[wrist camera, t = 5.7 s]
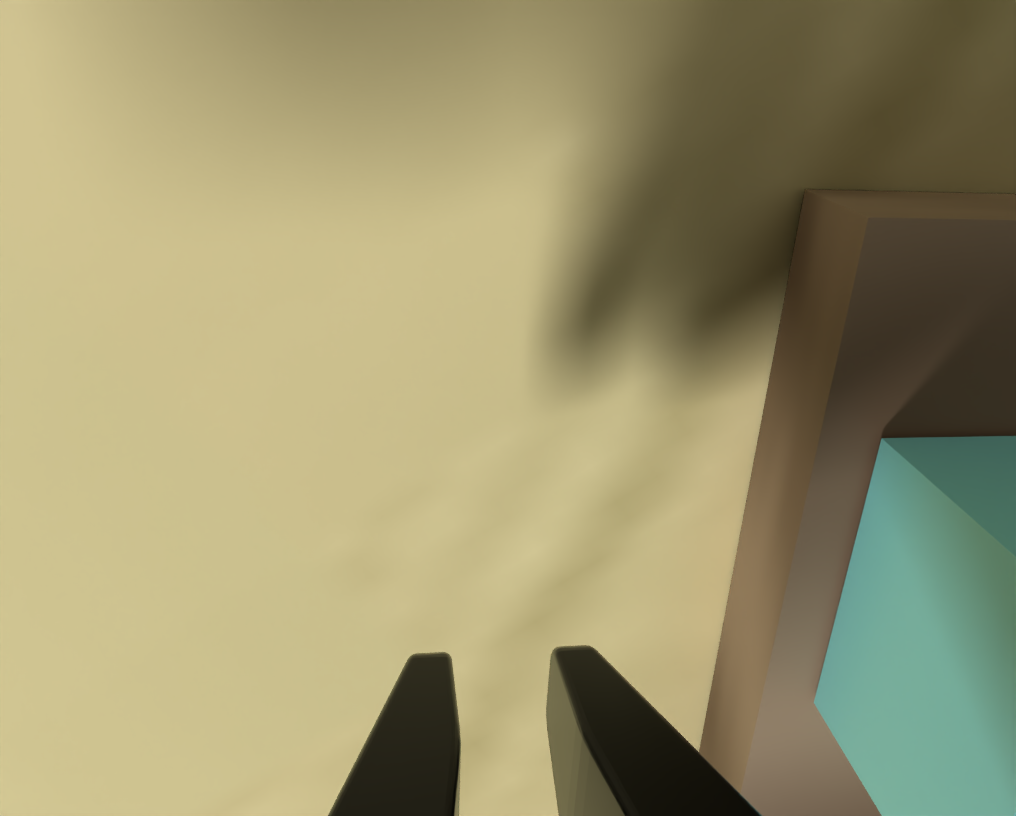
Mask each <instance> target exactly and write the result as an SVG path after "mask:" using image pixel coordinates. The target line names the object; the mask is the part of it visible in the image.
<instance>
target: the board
mask: <svg viewBox="0 0 1016 816" xmlns="http://www.w3.org/2000/svg"><path fill="white" fill-rule="evenodd" d="M979 436H1016V194H992V193H948V192H903V191H859V190H814V189H805V192H804V197H803V203H802V208H801V213H800V219H799V224H798V229H797V235H796V240H795V245H794V251H793V256H792V261H791V267H790V272H789V277H788V283H787V288H786V293H785V298H784V304H783V309H782V314H781V320H780V325H779V330H778V336H777V341H776V346H775V352H774V357H773V362H772V368H771V373H770V378H769V384H768V389H767V394H766V399H765V405H764V410H763V415H762V421H761V426H760V431H759V437H758V442H757V447H756V453H755V458H754V463H753V469H752V474H751V479H750V485H749V490H748V495H747V500H746V506H745V511H744V516H743V522H742V527H741V532H740V538H739V543H738V548H737V554H736V559H735V564H734V570H733V575H732V580H731V585H730V591H729V596H728V601H727V607H726V612H725V617H724V623H723V628H722V633H721V639H720V644H719V649H718V655H717V660H716V665H715V671H714V676H713V681H712V686H711V692H710V697H709V702H708V708H707V713H706V718H705V724H704V729H703V734H702V740H701V745H700V750H699V753H700V754H701V755H702V756H703V757H704V758H705V759H706V760H707V761H708V762H709V763H710V764H711V765H712V766H713V767H714V768H715V769H716V770H717V771H718V772H719V773H720V774H721V775H722V776H723V777H724V778H725V779H726V780H727V781H728V782H729V783H730V784H731V785H732V786H733V787H734V788H735V789H736V790H737V791H738V792H739V793H740V794H741V795H742V796H743V797H744V798H745V799H746V800H747V801H748V802H749V803H750V804H751V805H752V806H753V807H754V808H755V809H756V810H757V811H758V812H759V813H760V814H761V815H762V816H882V815H881V814H880V812H879V810H878V809H877V807H876V805H875V804H874V802H873V800H872V799H871V797H870V795H869V794H868V792H867V790H866V789H865V787H864V785H863V784H862V782H861V780H860V779H859V777H858V775H857V774H856V772H855V770H854V769H853V767H852V766H851V764H850V762H849V761H848V759H847V757H846V756H845V754H844V752H843V751H842V749H841V747H840V746H839V744H838V742H837V741H836V739H835V737H834V736H833V734H832V732H831V731H830V729H829V727H828V726H827V724H826V722H825V721H824V719H823V717H822V716H821V714H820V712H819V711H818V709H817V707H816V706H815V704H814V699H815V696H816V692H817V688H818V684H819V680H820V676H821V672H822V668H823V664H824V660H825V657H826V653H827V649H828V645H829V641H830V637H831V633H832V629H833V625H834V622H835V618H836V614H837V610H838V606H839V602H840V598H841V594H842V590H843V586H844V583H845V579H846V575H847V571H848V567H849V563H850V559H851V555H852V551H853V548H854V544H855V540H856V536H857V532H858V528H859V524H860V520H861V516H862V512H863V509H864V505H865V501H866V497H867V493H868V489H869V485H870V481H871V477H872V474H873V470H874V466H875V462H876V458H877V454H878V450H879V446H880V442H881V438H919V437H979Z"/></svg>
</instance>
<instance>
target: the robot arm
mask: <svg viewBox="0 0 1016 816" xmlns="http://www.w3.org/2000/svg"><path fill="white" fill-rule="evenodd" d="M546 717H547V731H548V738H549V746H550V753H551V761H552V768H553V776H554V783H555V790H556V798H557V805H558V813H559V816H762V815H761V814H760V813H759V812H758V811H757V810H756V809H755V808H754V807H753V806H752V805H751V804H750V803H749V802H748V801H747V800H746V799H745V798H744V797H743V796H742V795H741V794H740V793H739V792H738V791H737V790H736V789H735V788H734V787H733V786H732V785H731V784H730V783H729V782H728V781H727V780H726V779H725V778H724V777H723V776H722V775H721V774H720V773H719V772H718V771H717V770H716V769H715V768H714V767H713V766H712V765H711V764H710V763H709V762H708V761H707V760H706V759H705V758H704V757H703V756H702V755H701V754H700V753H699V752H698V751H697V750H696V749H695V748H694V747H693V746H692V745H691V744H690V743H689V742H688V741H687V740H686V739H685V738H684V737H683V736H682V735H681V734H680V733H679V732H678V731H677V730H676V729H675V728H674V727H673V726H672V725H671V724H670V723H669V722H668V721H667V720H666V719H665V718H664V717H663V716H662V715H661V714H660V713H659V712H658V711H657V710H656V709H655V708H654V707H653V706H652V705H651V704H650V703H649V702H648V701H647V700H646V699H645V698H644V697H643V696H642V695H641V694H640V693H639V692H638V691H637V690H636V689H635V688H634V687H633V686H632V685H631V684H630V683H629V682H628V681H627V680H626V679H625V678H624V677H623V676H622V675H621V674H620V673H619V672H618V671H617V670H616V669H615V668H614V667H613V666H612V665H611V664H610V663H609V662H608V661H607V660H606V659H605V658H604V657H603V656H602V655H601V654H600V653H599V652H598V651H597V650H596V649H594V648H593V647H591V646H587V645H583V646H562V647H557V648H555V649H554V650H553V652H552V654H551V659H550V670H549V682H548V695H547V708H546ZM460 756H461V740H460V726H459V718H458V709H457V701H456V692H455V684H454V675H453V667H452V659H451V657H450V655H449V654H448V653H445V652H438V653H418V654H413V655H412V656H410V657H409V659H408V660H407V662H406V664H405V666H404V668H403V670H402V672H401V674H400V676H399V678H398V680H397V681H396V683H395V685H394V687H393V689H392V691H391V693H390V695H389V697H388V699H387V701H386V703H385V705H384V707H383V709H382V711H381V713H380V715H379V717H378V719H377V721H376V723H375V725H374V727H373V728H372V730H371V732H370V734H369V736H368V738H367V740H366V742H365V744H364V746H363V748H362V750H361V752H360V754H359V756H358V758H357V760H356V762H355V764H354V766H353V768H352V770H351V772H350V773H349V775H348V777H347V779H346V781H345V783H344V785H343V787H342V789H341V791H340V793H339V795H338V797H337V799H336V801H335V803H334V805H333V807H332V809H331V811H330V813H329V815H328V816H459V794H460Z"/></svg>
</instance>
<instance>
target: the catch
mask: <svg viewBox="0 0 1016 816" xmlns="http://www.w3.org/2000/svg"><path fill="white" fill-rule="evenodd" d="M814 704H815V706H816V707H817V709H818V711H819V712H820V714H821V716H822V717H823V719H824V721H825V722H826V724H827V726H828V727H829V729H830V731H831V732H832V734H833V736H834V737H835V739H836V741H837V742H838V744H839V746H840V747H841V749H842V751H843V752H844V754H845V756H846V757H847V759H848V761H849V762H850V764H851V766H852V767H853V769H854V770H855V772H856V774H857V775H858V777H859V779H860V780H861V782H862V784H863V785H864V787H865V789H866V790H867V792H868V794H869V795H870V797H871V799H872V800H873V802H874V804H875V805H876V807H877V809H878V810H879V812H880V814H881V815H882V816H1016V436H979V437H919V438H881V442H880V446H879V450H878V454H877V458H876V462H875V466H874V470H873V474H872V477H871V481H870V485H869V489H868V493H867V497H866V501H865V505H864V509H863V512H862V516H861V520H860V524H859V528H858V532H857V536H856V540H855V544H854V548H853V551H852V555H851V559H850V563H849V567H848V571H847V575H846V579H845V583H844V586H843V590H842V594H841V598H840V602H839V606H838V610H837V614H836V618H835V622H834V625H833V629H832V633H831V637H830V641H829V645H828V649H827V653H826V657H825V660H824V664H823V668H822V672H821V676H820V680H819V684H818V688H817V692H816V696H815V699H814Z"/></svg>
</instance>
